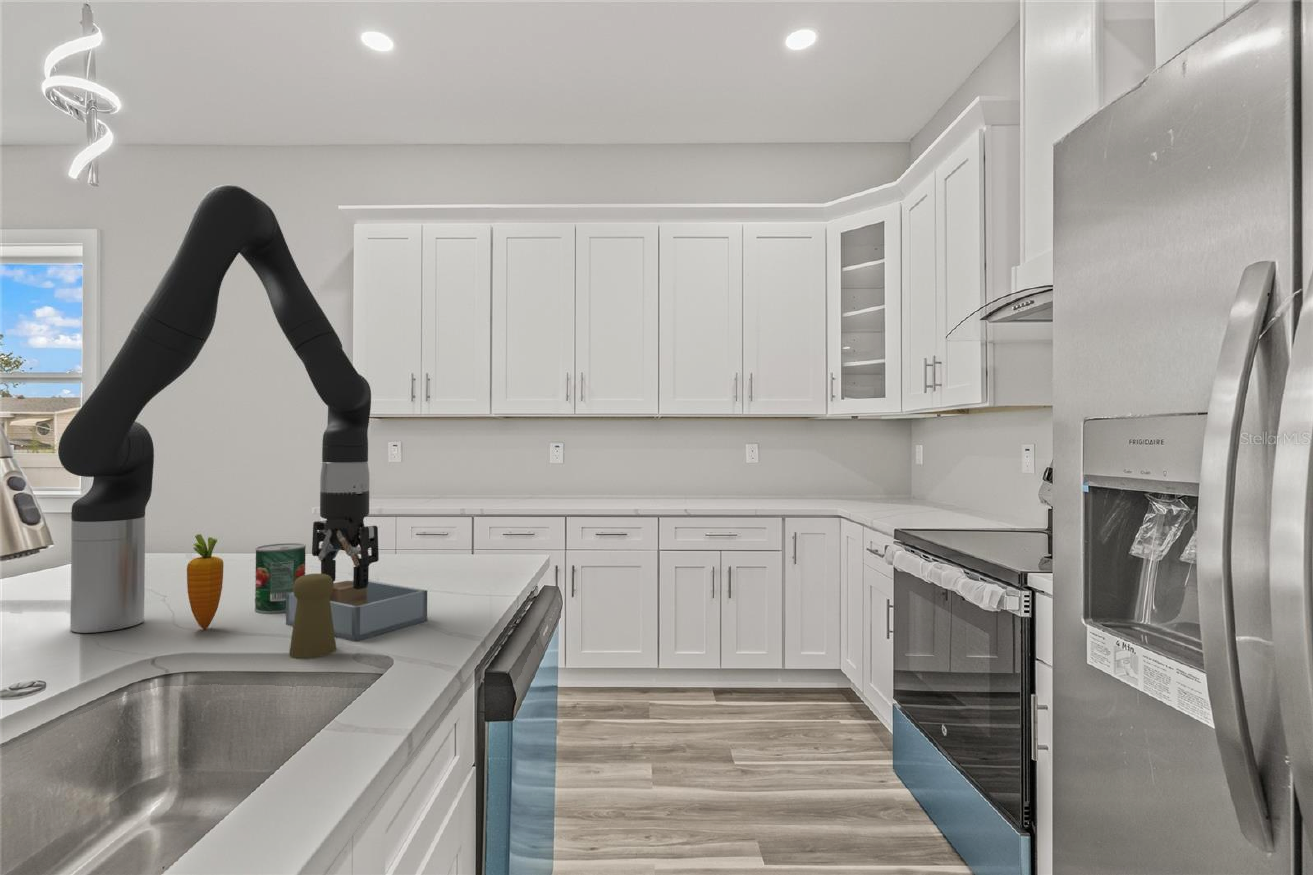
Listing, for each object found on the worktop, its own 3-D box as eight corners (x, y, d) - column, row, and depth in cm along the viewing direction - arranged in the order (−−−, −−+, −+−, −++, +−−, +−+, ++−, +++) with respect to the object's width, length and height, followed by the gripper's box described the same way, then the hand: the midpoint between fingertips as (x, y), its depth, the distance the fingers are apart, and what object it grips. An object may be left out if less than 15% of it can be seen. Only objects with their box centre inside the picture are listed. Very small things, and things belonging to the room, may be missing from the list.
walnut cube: (320, 615, 112) (320, 585, 112) (347, 609, 117) (347, 580, 117) (339, 620, 110) (340, 589, 110) (366, 613, 114) (366, 583, 114)
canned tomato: (245, 609, 119) (246, 547, 119) (289, 600, 126) (290, 541, 126) (270, 615, 115) (270, 551, 115) (314, 606, 122) (315, 545, 122)
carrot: (227, 629, 107) (228, 534, 107) (190, 635, 103) (191, 537, 103) (218, 623, 110) (219, 531, 110) (182, 629, 107) (183, 534, 107)
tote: (285, 624, 110) (286, 593, 110) (359, 606, 122) (359, 578, 122) (355, 641, 101) (355, 608, 101) (427, 620, 113) (427, 590, 113)
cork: (316, 660, 93) (317, 580, 93) (278, 656, 94) (279, 577, 94) (345, 646, 98) (346, 571, 98) (309, 644, 100) (310, 569, 100)
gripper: (298, 488, 113) (297, 584, 113) (352, 492, 106) (351, 595, 106) (338, 485, 120) (337, 577, 120) (392, 489, 113) (391, 586, 113)
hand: (344, 585), depth 113 cm, fingers open, 8 cm apart
